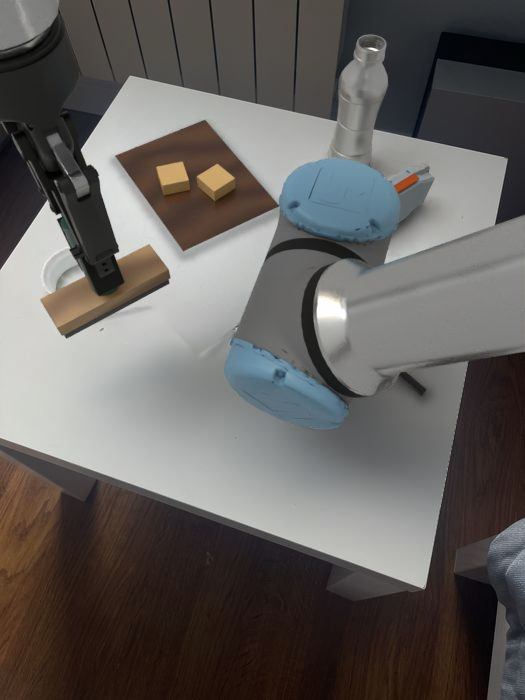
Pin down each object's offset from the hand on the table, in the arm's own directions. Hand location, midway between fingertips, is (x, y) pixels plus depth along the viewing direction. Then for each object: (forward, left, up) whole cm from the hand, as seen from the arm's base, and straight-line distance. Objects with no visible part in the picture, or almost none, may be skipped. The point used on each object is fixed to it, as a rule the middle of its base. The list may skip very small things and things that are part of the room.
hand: (101, 274), depth 51 cm
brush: (0, 0, -4) cm, 4 cm away
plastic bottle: (+13, -43, -18) cm, 49 cm away
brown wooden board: (+22, -21, -18) cm, 36 cm away
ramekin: (+13, +1, -18) cm, 23 cm away
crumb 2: (+19, -23, -17) cm, 35 cm away
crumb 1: (+23, -18, -17) cm, 34 cm away
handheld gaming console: (+1, -41, -18) cm, 45 cm away
